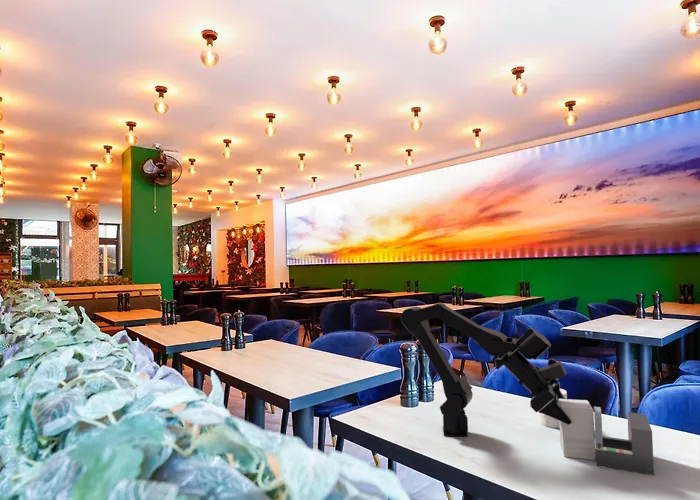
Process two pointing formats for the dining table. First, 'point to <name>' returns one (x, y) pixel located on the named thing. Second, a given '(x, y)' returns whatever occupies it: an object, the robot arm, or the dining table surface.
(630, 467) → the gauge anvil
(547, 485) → the dining table surface
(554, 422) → the white cup
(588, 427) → the supplement box
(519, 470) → the dining table surface
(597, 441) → the pad
